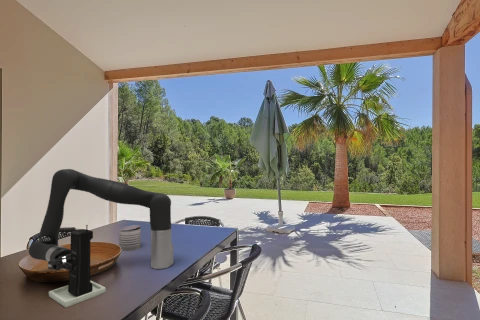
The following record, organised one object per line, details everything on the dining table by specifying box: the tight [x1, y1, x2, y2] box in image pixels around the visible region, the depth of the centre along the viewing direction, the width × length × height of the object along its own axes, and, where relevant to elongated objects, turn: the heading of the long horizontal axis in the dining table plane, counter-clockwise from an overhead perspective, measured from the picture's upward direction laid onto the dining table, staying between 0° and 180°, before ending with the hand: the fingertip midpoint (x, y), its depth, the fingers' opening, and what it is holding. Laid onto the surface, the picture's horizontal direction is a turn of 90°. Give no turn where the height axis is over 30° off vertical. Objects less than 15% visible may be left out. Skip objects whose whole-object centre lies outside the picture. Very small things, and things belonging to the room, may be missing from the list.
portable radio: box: [68, 224, 94, 297], centre depth 110 cm, size 8×6×25 cm
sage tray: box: [48, 279, 107, 308], centre depth 110 cm, size 14×14×2 cm
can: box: [118, 224, 142, 252], centre depth 167 cm, size 11×11×12 cm
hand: (79, 265), depth 109 cm, fingers open, 5 cm apart
